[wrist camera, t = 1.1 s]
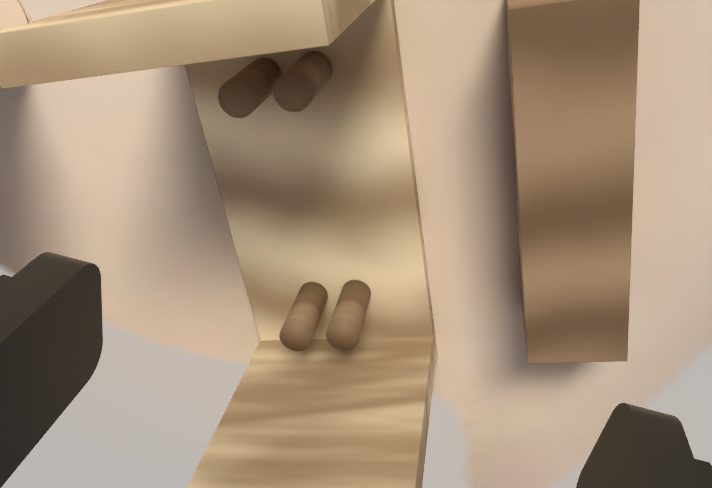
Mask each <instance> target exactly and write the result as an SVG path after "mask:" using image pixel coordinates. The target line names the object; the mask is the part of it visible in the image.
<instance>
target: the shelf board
mask: <svg viewBox="0 0 712 488" xmlns="http://www.w3.org/2000/svg"><path fill="white" fill-rule="evenodd" d="M506 15H507V34H508V52H509V71H510V89H511V108H512V126H513V145H514V163H515V182H516V200H517V218H518V237H519V255H520V274H521V292H522V309H523V320H524V330H525V340H526V351H527V361H528V363H563V362H611V361H627V352H628V322H629V293H630V264H631V235H632V205H633V176H634V147H635V118H636V88H637V59H638V30H639V0H506Z"/></svg>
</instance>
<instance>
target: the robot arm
mask: <svg viewBox="0 0 712 488" xmlns="http://www.w3.org/2000/svg"><path fill="white" fill-rule="evenodd" d="M102 342H103V336H102V300H101V274H100V270H99V268H98V267H97V266H96V265H95V264H92V263H89V262H85V261H81V260H77V259H73V258H69V257H65V256H62V255H58V254H54V253H49V252H46V253H43V254H41V255H39V256H38V257H36V258H35V259H34V260H33V261H31V262H30V263H29V264H28V265H26V266H25V267H24V268H23V269H22V270H20V271H19V272H18V273H17V274H15V275H14V276H13V277H9V276H6V275H1V276H0V488H1V487H2V486H3V484H4V483H5V482H6V481H7V479H8V478H9V477H10V476H11V475H12V473H13V472H14V471H15V470H16V468H17V467H18V466H19V465H20V464H21V462H22V461H23V460H24V459H25V458H26V456H27V455H28V454H29V453H30V451H31V450H32V449H33V448H34V446H35V445H36V444H37V443H38V442H39V440H40V439H41V438H42V437H43V435H44V434H45V433H46V432H47V431H48V429H49V428H50V427H51V426H52V424H53V423H54V422H55V421H56V419H57V418H58V417H59V416H60V415H61V414H62V412H63V411H64V410H65V409H66V407H67V406H68V405H69V404H70V403H71V401H72V400H73V399H74V398H75V397H76V395H77V394H78V393H79V392H80V390H81V389H82V388H83V387H84V386H85V384H86V383H87V382H88V380H89V379H90V378H91V376H92V374H93V373H94V370H95V369H96V366H97V364H98V361H99V358H100V355H101V350H102ZM576 488H712V466H711V464H710V463H709V462H705V461H701V460H697V459H694V457H693V454H692V451H691V449H690V446H689V443H688V440H687V437H686V435H685V432H684V429H683V426H682V424H681V422H680V421H679V419H678V418H676V417H675V416H672V415H668V414H664V413H660V412H657V411H653V410H649V409H645V408H641V407H637V406H633V405H630V404H626V403H621V404H619V405H618V406H617V407H616V408H615V409H614V410H613V412H612V414H611V416H610V418H609V420H608V421H607V423H606V425H605V427H604V429H603V431H602V433H601V435H600V437H599V439H598V441H597V442H596V444H595V446H594V448H593V450H592V452H591V454H590V456H589V458H588V460H587V462H586V464H585V465H584V467H583V469H582V471H581V474H580V476H579V479H578V483H577V487H576Z"/></svg>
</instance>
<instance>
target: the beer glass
mask: <svg viewBox="0 0 712 488" xmlns="http://www.w3.org/2000/svg"><path fill="white" fill-rule="evenodd" d="M26 23H28V21H27V18H26V15H25V13H24V11H23V9H22V7H21V5H20V3H19V1H18V0H0V31H2V30H5V29H9V28H12V27H16V26H19V25H23V24H26ZM0 86H1V85H0Z"/></svg>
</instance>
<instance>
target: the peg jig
mask: <svg viewBox="0 0 712 488" xmlns="http://www.w3.org/2000/svg"><path fill="white" fill-rule="evenodd" d="M177 65H185V67H186V70H187V74H188V78H189V81H190V85H191V89H192V92H193V96H194V100H195V103H196V107H197V110H198V114H199V118H200V121H201V125H202V129H203V132H204V136H205V140H206V143H207V147H208V151H209V154H210V158H211V162H212V165H213V169H214V172H215V176H216V180H217V183H218V187H219V191H220V194H221V198H222V202H223V205H224V209H225V213H226V216H227V220H228V224H229V227H230V231H231V234H232V238H233V242H234V245H235V249H236V253H237V256H238V260H239V264H240V267H241V271H242V275H243V278H244V282H245V285H246V289H247V293H248V296H249V300H250V304H251V307H252V311H253V315H254V318H255V322H256V326H257V329H258V333H259V337H260V340H261V341H260V343H259V345H258V347H257V349H256V351H255V353H254V355H253V357H252V359H251V361H250V363H249V365H248V367H247V369H246V371H245V373H244V375H243V377H242V379H241V381H240V383H239V385H238V387H237V389H236V391H235V393H234V395H233V397H232V399H231V401H230V403H229V405H228V407H227V409H226V411H225V413H224V415H223V417H222V419H221V421H220V423H219V425H218V427H217V429H216V431H215V433H214V435H213V437H212V439H211V441H210V443H209V445H208V447H207V449H206V451H205V453H204V455H203V457H202V459H201V461H200V463H199V465H198V467H197V469H196V471H195V473H194V475H193V477H192V479H191V481H190V483H189V485H188V487H187V488H422V480H423V472H424V471H423V470H424V462H425V453H426V442H427V433H428V424H429V415H430V404H431V396H432V386H433V377H434V368H435V365H436V364H437V355H438V354H437V346H436V338H435V330H434V322H433V314H432V306H431V298H430V290H429V282H428V274H427V266H426V258H425V250H424V241H423V233H422V225H421V217H420V209H419V201H418V193H417V185H416V177H415V169H414V161H413V153H412V145H411V137H410V129H409V121H408V113H407V105H406V97H405V89H404V81H403V73H402V65H401V57H400V49H399V40H398V32H397V24H396V16H395V8H394V0H107V1H103V2H100V3H96V4H93V5H89V6H86V7H82V8H79V9H75V10H72V11H68V12H65V13H61V14H58V15H54V16H51V17H47V18H44V19H40V20H37V21H33V22H30V23H26V24H23V25H19V26H16V27H12V28H9V29H5V30H2V31H0V85H1V88H2V89H4V88H11V87H19V86H26V85H34V84H41V83H49V82H56V81H64V80H71V79H79V78H87V77H94V76H102V75H109V74H117V73H124V72H132V71H139V70H147V69H155V68H162V67H170V66H177Z"/></svg>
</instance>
